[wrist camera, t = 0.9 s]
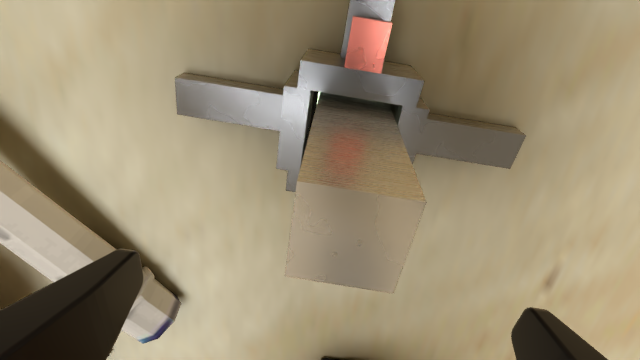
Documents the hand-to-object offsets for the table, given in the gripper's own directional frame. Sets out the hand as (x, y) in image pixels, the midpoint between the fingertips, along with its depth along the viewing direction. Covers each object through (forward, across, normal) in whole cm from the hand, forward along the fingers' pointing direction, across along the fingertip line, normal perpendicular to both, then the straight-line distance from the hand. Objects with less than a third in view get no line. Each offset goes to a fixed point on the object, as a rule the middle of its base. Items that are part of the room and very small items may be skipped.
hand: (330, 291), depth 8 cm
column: (+13, 0, 0) cm, 13 cm away
